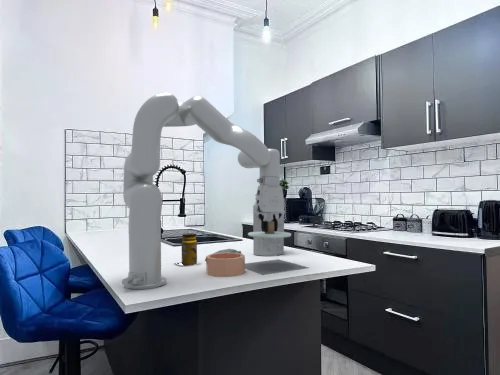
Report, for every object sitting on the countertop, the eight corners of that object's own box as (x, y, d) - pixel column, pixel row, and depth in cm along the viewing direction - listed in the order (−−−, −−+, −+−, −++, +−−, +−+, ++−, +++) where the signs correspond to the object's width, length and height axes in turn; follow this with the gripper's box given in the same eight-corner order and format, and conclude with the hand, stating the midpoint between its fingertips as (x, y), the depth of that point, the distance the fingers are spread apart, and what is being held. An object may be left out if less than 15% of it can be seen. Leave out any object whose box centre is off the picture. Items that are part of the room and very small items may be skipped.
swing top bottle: (246, 255, 156) (244, 166, 157) (267, 250, 170) (266, 168, 171) (270, 258, 149) (268, 164, 150) (290, 252, 163) (288, 167, 164)
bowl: (238, 278, 115) (238, 259, 115) (201, 276, 118) (201, 258, 118) (248, 269, 127) (248, 253, 127) (214, 268, 130) (213, 252, 130)
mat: (262, 275, 117) (262, 274, 117) (235, 265, 135) (235, 264, 135) (309, 268, 127) (309, 267, 127) (278, 260, 145) (278, 259, 145)
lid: (288, 238, 121) (288, 223, 122) (243, 237, 125) (243, 222, 125) (293, 233, 137) (293, 220, 137) (253, 232, 141) (253, 219, 141)
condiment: (200, 264, 139) (200, 233, 139) (180, 267, 134) (180, 235, 135) (193, 261, 145) (192, 232, 145) (173, 264, 140) (173, 234, 141)
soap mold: (242, 255, 161) (242, 247, 161) (227, 264, 142) (227, 255, 142) (221, 254, 164) (221, 247, 164) (203, 262, 145) (203, 254, 145)
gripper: (255, 181, 124) (255, 233, 124) (293, 182, 132) (293, 231, 132) (245, 182, 131) (245, 231, 130) (282, 183, 139) (282, 229, 138)
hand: (269, 230), depth 131 cm, fingers closed on lid, 3 cm apart
